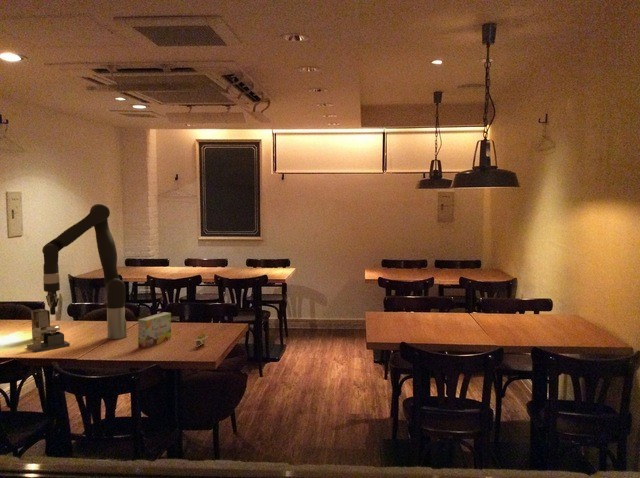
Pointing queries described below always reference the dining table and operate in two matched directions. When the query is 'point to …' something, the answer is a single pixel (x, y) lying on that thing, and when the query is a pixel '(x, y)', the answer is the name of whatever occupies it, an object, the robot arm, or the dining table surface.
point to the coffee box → (40, 320)
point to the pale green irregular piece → (200, 339)
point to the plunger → (50, 329)
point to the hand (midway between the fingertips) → (52, 314)
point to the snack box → (154, 329)
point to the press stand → (47, 341)
